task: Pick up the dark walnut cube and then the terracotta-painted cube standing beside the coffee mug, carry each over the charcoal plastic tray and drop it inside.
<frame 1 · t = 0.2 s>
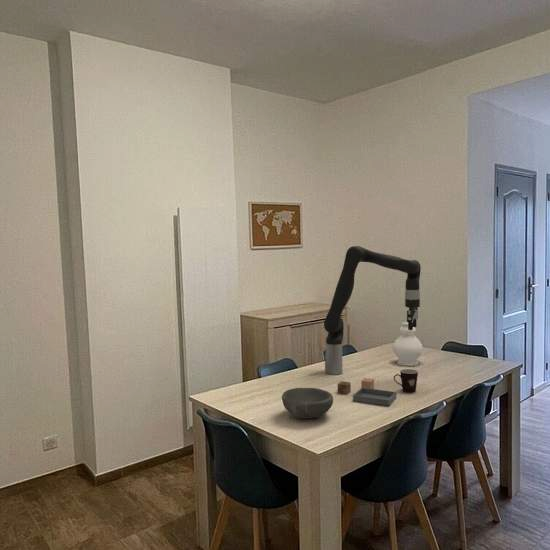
hand: (412, 328, 257), 29 cm above the table, fingers open, 8 cm apart
charcoal tray: (374, 399, 232), on the table
terracotta block: (367, 389, 248), on the table
decorative vase: (407, 363, 298), on the table
coffee mug: (406, 391, 245), on the table
walnut block: (344, 392, 244), on the table
bowl: (307, 416, 213), on the table
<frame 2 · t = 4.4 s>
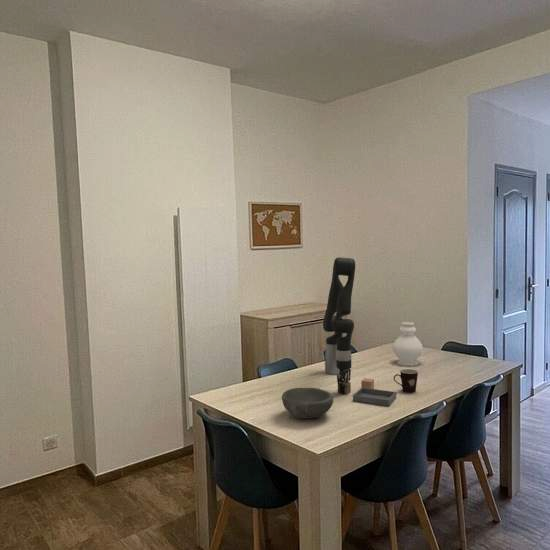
hand: (344, 391, 244), 0 cm above the table, fingers closed on walnut block, 5 cm apart
walnut block: (344, 392, 244), on the table, touching gripper
everything else where it was.
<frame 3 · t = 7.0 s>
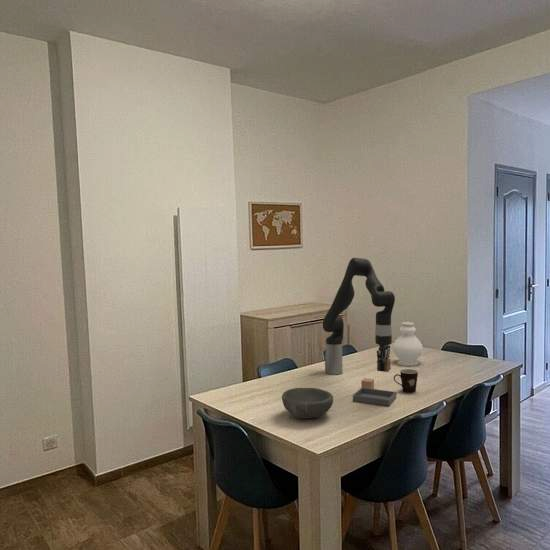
hand: (383, 369, 229), 15 cm above the table, fingers closed on walnut block, 5 cm apart
walnut block: (383, 370, 229), point 15 cm above the table, touching gripper
everything else where it was.
when the fingers open (3 cm above the table, at t = 9.7 s): walnut block drops 2 cm, resting on charcoal tray.
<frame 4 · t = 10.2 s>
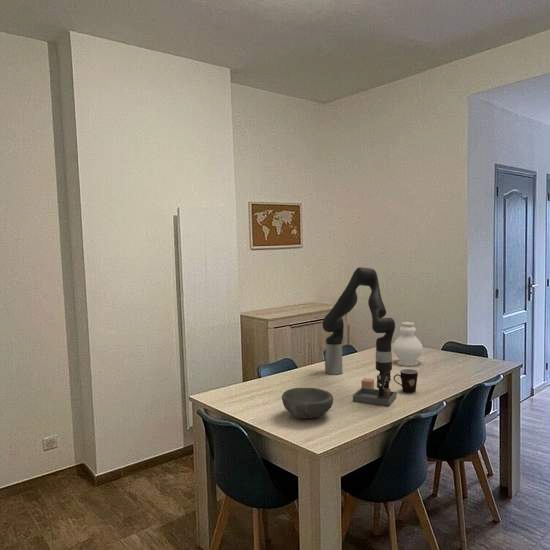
hand: (383, 393, 230), 4 cm above the table, fingers open, 8 cm apart
walnut block: (384, 399, 230), resting on charcoal tray
everything else where it was.
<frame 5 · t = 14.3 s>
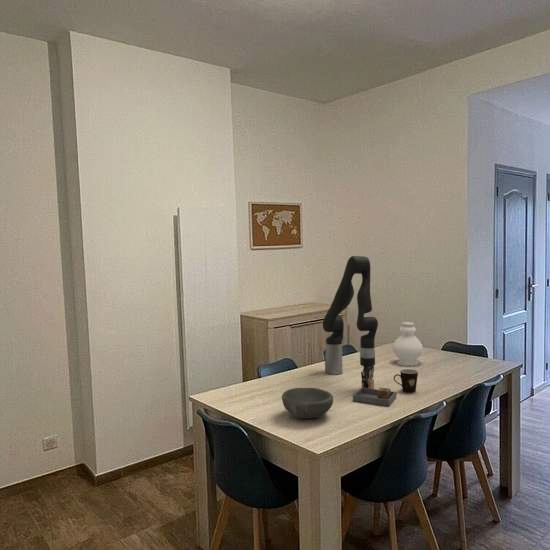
hand: (367, 388, 248), 0 cm above the table, fingers closed on terracotta block, 5 cm apart
terracotta block: (367, 389, 248), on the table, touching gripper
everything else where it was.
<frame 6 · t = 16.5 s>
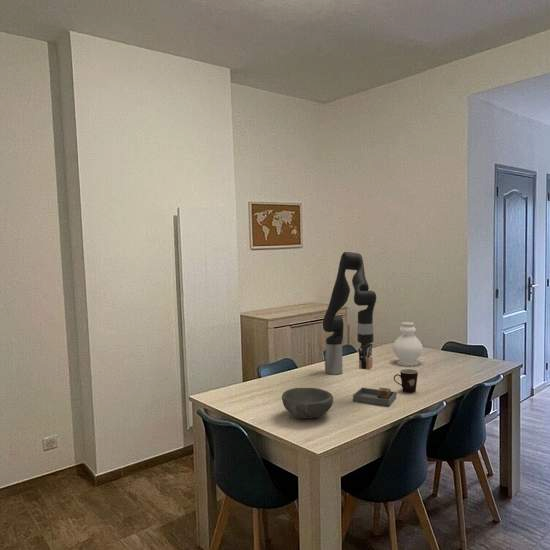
hand: (365, 367, 233), 15 cm above the table, fingers closed on terracotta block, 5 cm apart
terracotta block: (365, 368, 233), point 15 cm above the table, touching gripper
everything else where it was.
when the fingers open (3 cm above the table, at t = 19.2 s): terracotta block drops 2 cm, resting on charcoal tray.
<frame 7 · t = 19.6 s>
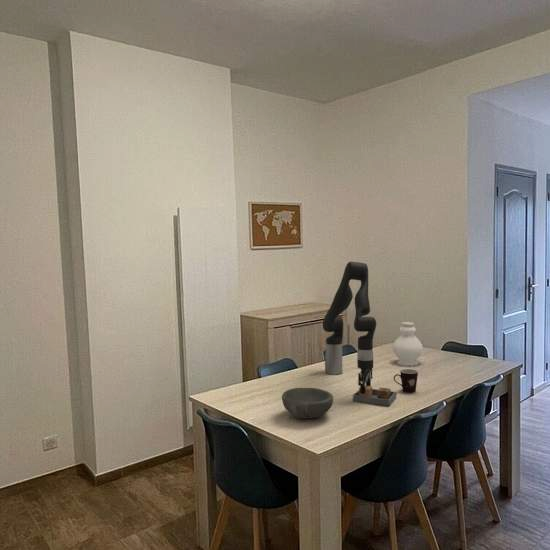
hand: (365, 391, 234), 4 cm above the table, fingers open, 8 cm apart
terracotta block: (365, 397, 234), resting on charcoal tray
everything else where it was.
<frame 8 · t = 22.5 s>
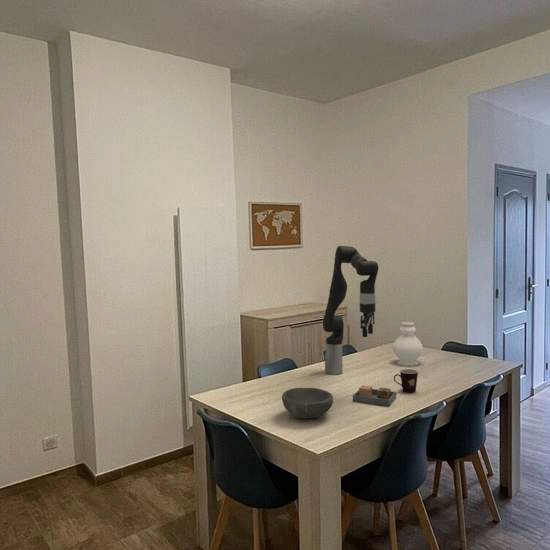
hand: (367, 335, 236), 30 cm above the table, fingers open, 8 cm apart
nothing on the table moved.
at the end: walnut block inside the target area on the charcoal tray (4.5 cm from its centre), point 0.5 cm above the charcoal tray's base; terracotta block inside the target area on the charcoal tray (4.5 cm from its centre), point 0.5 cm above the charcoal tray's base; the gripper is holding nothing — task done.
